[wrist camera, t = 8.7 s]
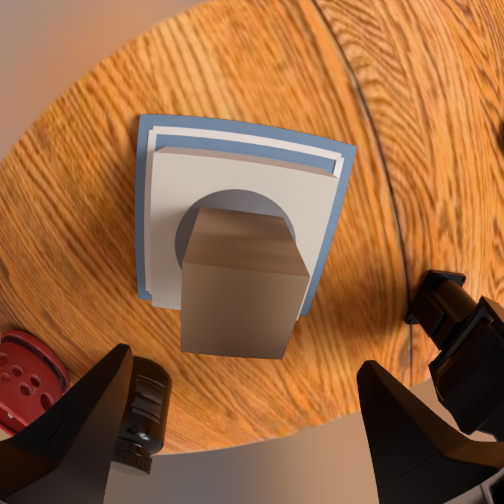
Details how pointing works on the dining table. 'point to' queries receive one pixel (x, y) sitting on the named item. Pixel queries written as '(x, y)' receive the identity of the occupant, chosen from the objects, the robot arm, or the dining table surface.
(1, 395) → the plant pot
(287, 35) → the dining table surface
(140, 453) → the supplement bottle
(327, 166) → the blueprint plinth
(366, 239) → the dining table surface
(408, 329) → the dining table surface
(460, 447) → the robot arm
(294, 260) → the walnut block
